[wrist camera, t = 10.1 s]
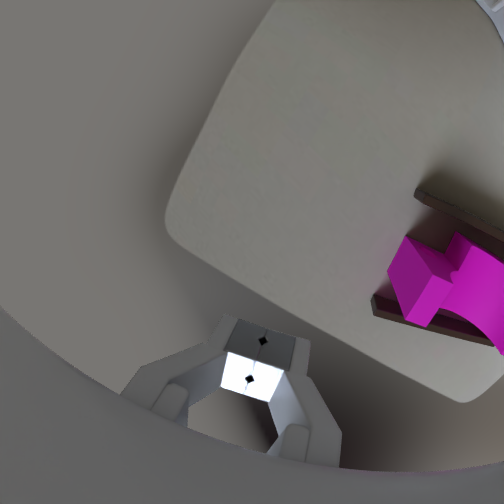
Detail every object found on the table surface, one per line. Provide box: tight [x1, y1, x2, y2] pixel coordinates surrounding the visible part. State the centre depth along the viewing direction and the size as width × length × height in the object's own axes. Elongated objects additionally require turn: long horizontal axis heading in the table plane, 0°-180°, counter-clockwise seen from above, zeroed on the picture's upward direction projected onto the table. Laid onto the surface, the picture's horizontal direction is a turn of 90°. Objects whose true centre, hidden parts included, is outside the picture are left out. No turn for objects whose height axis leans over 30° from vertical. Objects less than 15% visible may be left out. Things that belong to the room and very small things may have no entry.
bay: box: [371, 189, 504, 347], centre depth 20 cm, size 11×17×2 cm
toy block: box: [387, 231, 504, 355], centre depth 18 cm, size 15×6×8 cm, turn 73°
